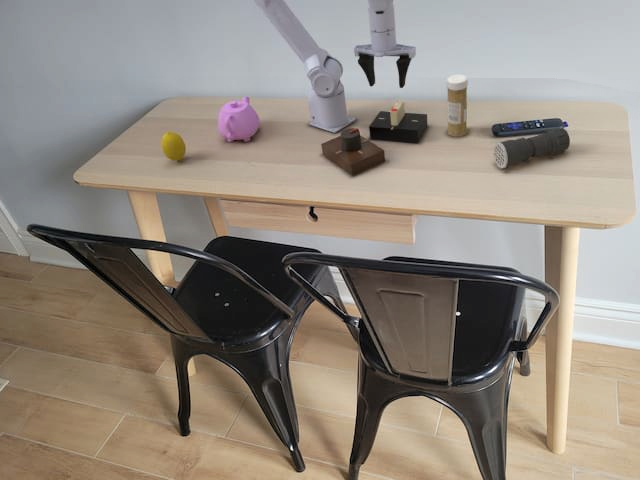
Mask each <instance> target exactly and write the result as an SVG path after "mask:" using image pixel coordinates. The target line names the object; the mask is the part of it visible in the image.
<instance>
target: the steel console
mask: <svg viewBox="0 0 640 480" xmlns="http://www.w3.org/2000/svg"><path fill="white" fill-rule="evenodd" d="M404 111H405V115H404V117H403V118H402V120H401V121H400V123H399V124H398V126H395V125H391V115H390V111H386V110H385V111H384V110H380V111H379V112H378V114H377V115H376V116H375V118H374V119H373V121H372V122H371V123H370V124H369V125H368V130H369V139H370V140H372V141H382V142H383V141H384V142H395V143H407V144H416V145H417V144H419V143H420V141H421V140H422V138H423V136H424V134H425V133H426V131H427V130H428V126H429V125H428V114H427V113H416V112H415V113H414V112H406V109H404ZM370 140H369V141H370Z"/></svg>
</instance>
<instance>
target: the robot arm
mask: <svg viewBox="0 0 640 480" xmlns="http://www.w3.org/2000/svg"><path fill="white" fill-rule="evenodd" d="M253 1H254V3H255V4H256V5H257V7H259V9H260V10H261V11H262V13H263V14H264V15H265V17H266V18H267V19H268V20H269V22H270V23H271V25H273V27H274V28H275V30H276V31H277V32H278V33H279V34H280V36H281V37H282V39H284V41H285V42H286V43H287V45H288V46H289V47H290V49H291V50H292V51H293V53H295V55H296V56H297V57H298V59H299V60H300V61H301V63H302V64H303V67H304V71H305V76H306V77H307V78H308V80H309V81H310V85H311V90H309V92H308V95H307V105H308V110H309V111H308V112H309V116H310V121H309V123H308V124H309V126H312V127H314V128H319V129H321V130H324V131H328V132H331V133H332V134H333V133H334V134H336V133H338V132H339V131H341V130H342V129H344V128H345V127H347V126H349V125H350V124H353V122H355V121H356V118H355V117H353V116H349V115H348V109H347V102H346V93H345V87H344V84H343V83H342V81H341V77H342V76H343V73H344V67H343V64H342V62H341V61H340V60H339V59H337V58H336V57H333V56H332V55H331V54H330V53H329V52H328V50H326V49H323V48H321V47H320V46H319V45H318V43H317V42H316V40H315V39H314V38H313V37H312V36H311V34H310V33H309V31H308V30H307V29H306V28H305V26H304V25H303V23H302V22H301V20H299V18H298V17H297V15H296V14H295V13H294V11H292V9H291V7H290V6H289V5H288V4H287V3H286V1H285V0H253ZM367 3H368V7H367V8H368V9H367V12H368V22H369V31H370V44H357V45H356V46H355V47H353V53H354V57H358V59H357V64H358V65H359V66H360V68H361V69H362V71H363V73H364V75H365V77H366V79H367V82H368V84H369V87H373V86H374V85H375V84H376V73H375V58H383V57H399V58H398V59H396V61H395V64H396V67H397V73H398V87H399V89H403V88H404V87H405V86H406V79H407V75H408V70H409V67H410V65H411V64H410V63H411V62H412V59H414V58H415V57H416V55H417V49H416V46H413V45H412V46H411V45H406V44H401V43H400V44H399V43H397V31H396V17H395V16H396V15H395V5H394V0H367Z"/></svg>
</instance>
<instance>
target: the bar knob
mask: <svg viewBox="0 0 640 480" xmlns="http://www.w3.org/2000/svg"><path fill="white" fill-rule="evenodd" d="M404 110H405V101H401V100H397V101H396V103H395V104H394V106H393V107H392V108H391V109H390V111H389V112H390V115H391V125H395V126H398V124H399V123H400V121H401V120H402V118H403V117H404V115H405V113H406V110H405V111H404Z"/></svg>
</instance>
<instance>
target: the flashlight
mask: <svg viewBox="0 0 640 480" xmlns="http://www.w3.org/2000/svg"><path fill="white" fill-rule="evenodd" d="M570 143H571V140H570V135H569V132H568V131H567V130H566V129H565V128H560V127H557V128H553V129H549V130H548V131H547V132H544V133H540V134H538V135H534V136H531V137H528V138H525V137H519V138H516V139H507V140H503V141H499V142H496V143H495V144H494V145H493V157H494V158H493V159H494V162H495V164H496V165H497V167H498V168H499V169H506V168H510V167H513V166H516V165H518V164H521V163H525V162H528V161H529V160H530V159H532V158H537V157H540V156H547V155H556V154H561V153H564V152H565V151H566V150H568V149H569V147H570Z"/></svg>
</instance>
